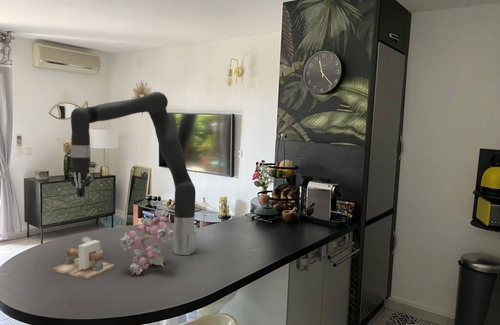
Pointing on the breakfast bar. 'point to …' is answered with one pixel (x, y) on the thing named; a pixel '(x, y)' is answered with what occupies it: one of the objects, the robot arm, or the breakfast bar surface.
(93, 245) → the collar
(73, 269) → the pipe rig
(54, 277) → the breakfast bar surface
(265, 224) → the breakfast bar surface
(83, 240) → the light grey long piece
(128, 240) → the flower
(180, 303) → the breakfast bar surface
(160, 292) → the breakfast bar surface
